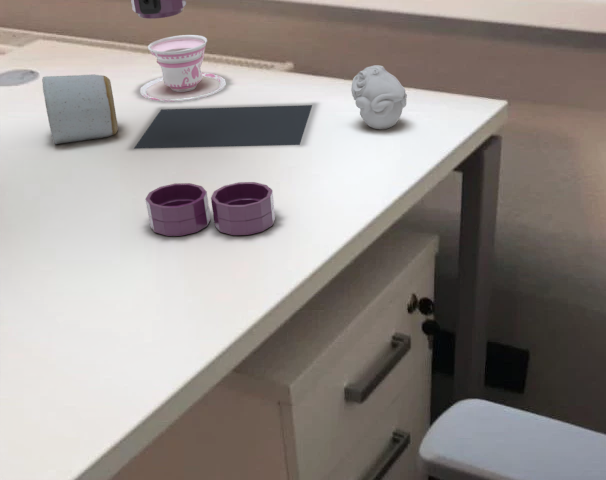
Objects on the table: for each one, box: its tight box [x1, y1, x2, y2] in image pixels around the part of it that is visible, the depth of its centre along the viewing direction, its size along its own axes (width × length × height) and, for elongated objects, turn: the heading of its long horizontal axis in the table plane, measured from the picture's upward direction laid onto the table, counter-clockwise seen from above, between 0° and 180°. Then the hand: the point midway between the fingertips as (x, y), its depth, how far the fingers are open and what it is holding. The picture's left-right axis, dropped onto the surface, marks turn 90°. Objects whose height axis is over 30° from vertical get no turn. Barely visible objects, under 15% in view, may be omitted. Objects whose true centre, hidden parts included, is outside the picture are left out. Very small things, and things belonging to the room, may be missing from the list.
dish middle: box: [144, 182, 211, 237], centre depth 87 cm, size 6×6×3 cm
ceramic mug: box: [41, 73, 119, 145], centre depth 109 cm, size 11×8×8 cm
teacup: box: [139, 34, 227, 103], centre depth 121 cm, size 12×12×6 cm
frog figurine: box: [350, 64, 408, 130], centre depth 104 cm, size 6×7×7 cm
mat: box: [133, 104, 313, 150], centre depth 109 cm, size 20×14×1 cm
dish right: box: [210, 181, 276, 236], centre depth 86 cm, size 6×6×3 cm
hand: (158, 4), depth 98 cm, fingers closed on dish left, 6 cm apart
